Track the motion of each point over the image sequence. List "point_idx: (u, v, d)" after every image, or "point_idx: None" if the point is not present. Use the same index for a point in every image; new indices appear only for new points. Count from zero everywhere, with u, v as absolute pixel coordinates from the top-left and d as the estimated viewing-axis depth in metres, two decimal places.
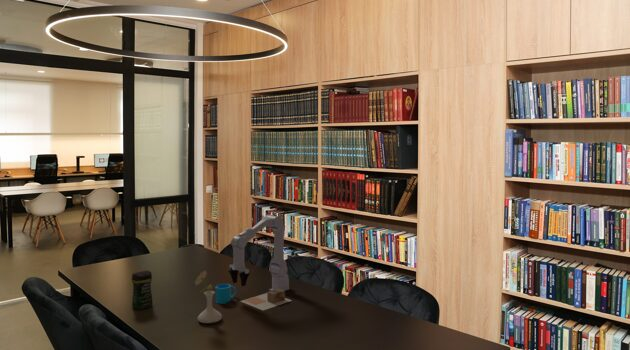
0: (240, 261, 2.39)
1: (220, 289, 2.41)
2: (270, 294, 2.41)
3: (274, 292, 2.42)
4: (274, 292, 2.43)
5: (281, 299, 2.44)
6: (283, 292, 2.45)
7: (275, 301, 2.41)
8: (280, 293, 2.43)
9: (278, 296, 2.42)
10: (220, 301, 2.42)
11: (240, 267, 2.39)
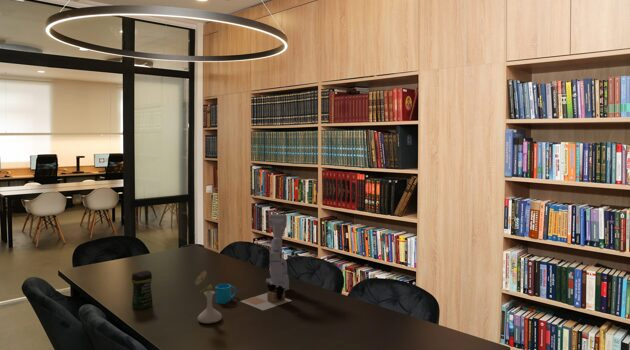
0: (278, 275, 2.41)
1: (220, 289, 2.41)
2: (270, 294, 2.41)
3: (274, 292, 2.42)
4: (274, 292, 2.43)
5: (281, 299, 2.44)
6: (283, 292, 2.45)
7: (275, 301, 2.41)
8: None
9: None
10: (220, 301, 2.42)
11: (278, 281, 2.41)
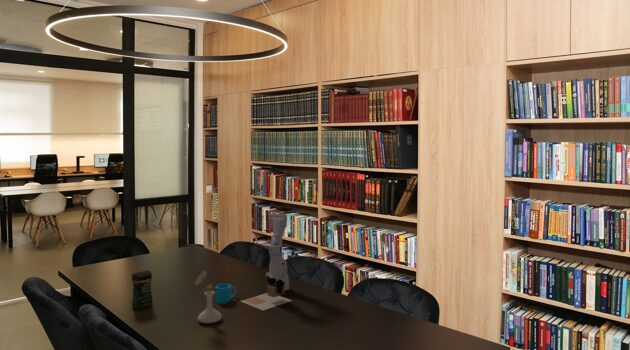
0: (278, 269, 2.41)
1: (220, 289, 2.41)
2: (270, 288, 2.41)
3: (274, 286, 2.42)
4: (274, 286, 2.42)
5: (281, 293, 2.44)
6: (283, 286, 2.44)
7: (275, 295, 2.41)
8: None
9: None
10: (220, 301, 2.42)
11: (277, 275, 2.41)
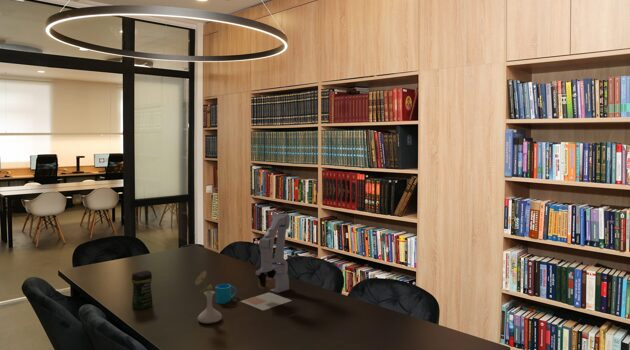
0: (261, 262, 2.41)
1: (220, 289, 2.41)
2: None
3: None
4: None
5: (265, 287, 2.41)
6: (267, 282, 2.40)
7: (259, 286, 2.43)
8: None
9: None
10: (220, 301, 2.42)
11: (261, 268, 2.42)
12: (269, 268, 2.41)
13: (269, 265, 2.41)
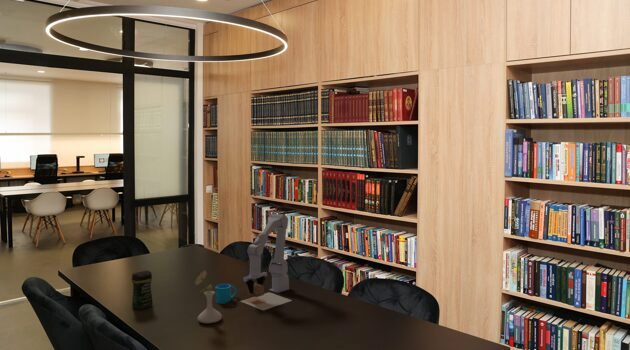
0: (250, 268, 2.41)
1: (220, 289, 2.41)
2: None
3: None
4: None
5: (253, 294, 2.41)
6: (255, 288, 2.40)
7: (248, 292, 2.44)
8: None
9: None
10: (220, 301, 2.42)
11: (250, 274, 2.42)
12: (257, 275, 2.40)
13: (257, 272, 2.40)
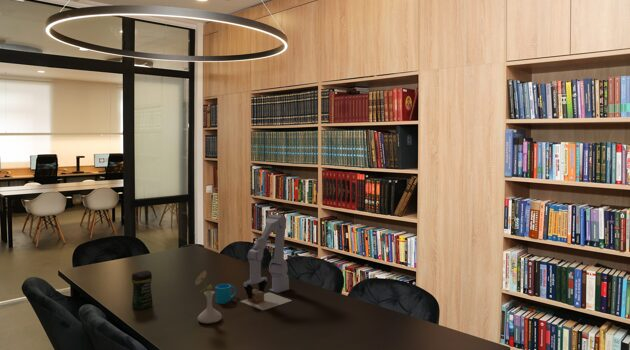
0: (250, 273, 2.42)
1: (220, 289, 2.41)
2: None
3: (252, 291, 2.44)
4: (252, 291, 2.44)
5: (253, 301, 2.41)
6: (255, 295, 2.40)
7: (248, 299, 2.44)
8: (252, 294, 2.41)
9: None
10: (220, 301, 2.42)
11: (250, 279, 2.42)
12: (257, 280, 2.41)
13: (257, 277, 2.41)
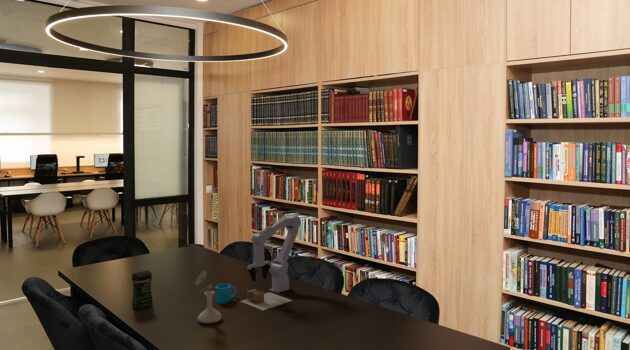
0: (254, 257, 2.50)
1: (220, 289, 2.41)
2: None
3: (252, 291, 2.44)
4: (252, 291, 2.44)
5: (253, 301, 2.41)
6: (255, 295, 2.40)
7: (248, 299, 2.44)
8: (252, 294, 2.41)
9: (251, 296, 2.42)
10: (220, 301, 2.42)
11: (254, 262, 2.50)
12: (261, 263, 2.49)
13: (261, 260, 2.49)
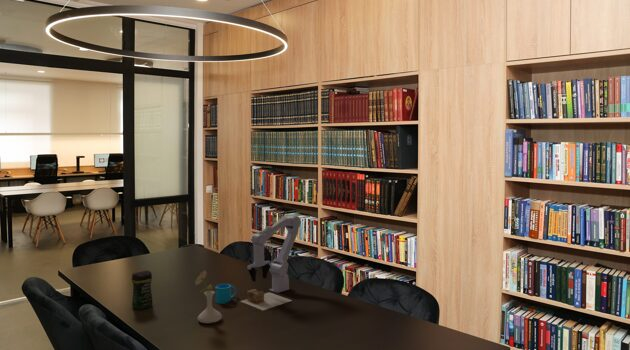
0: (254, 257, 2.50)
1: (220, 289, 2.41)
2: None
3: (252, 291, 2.44)
4: (252, 291, 2.44)
5: (253, 301, 2.41)
6: (255, 295, 2.40)
7: (248, 299, 2.44)
8: (252, 294, 2.41)
9: (251, 296, 2.42)
10: (220, 301, 2.42)
11: (254, 262, 2.50)
12: (261, 263, 2.49)
13: (261, 260, 2.49)
